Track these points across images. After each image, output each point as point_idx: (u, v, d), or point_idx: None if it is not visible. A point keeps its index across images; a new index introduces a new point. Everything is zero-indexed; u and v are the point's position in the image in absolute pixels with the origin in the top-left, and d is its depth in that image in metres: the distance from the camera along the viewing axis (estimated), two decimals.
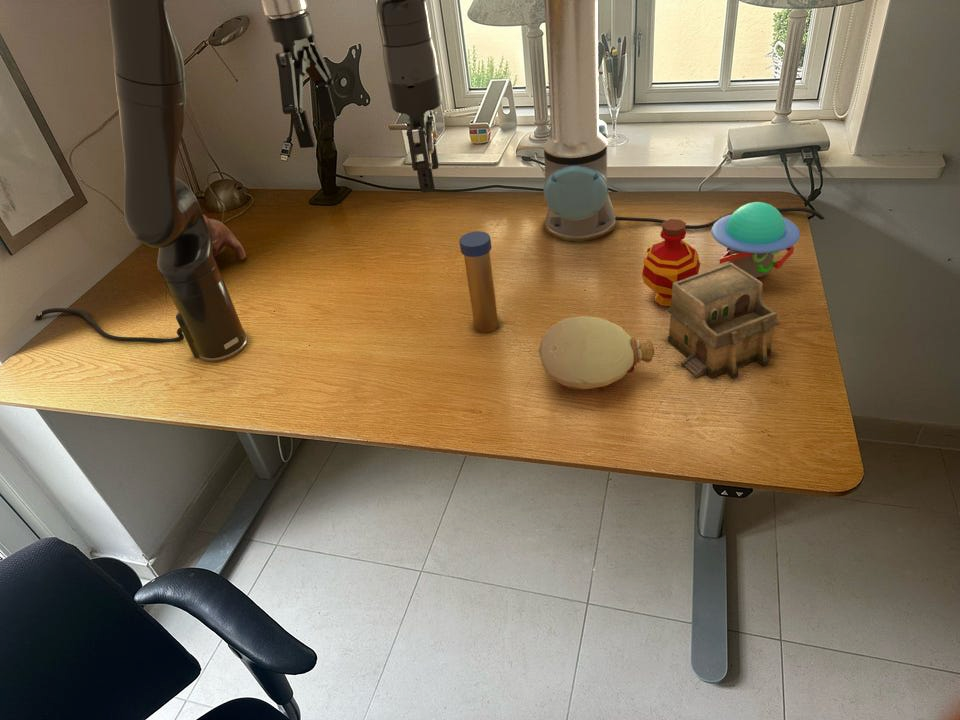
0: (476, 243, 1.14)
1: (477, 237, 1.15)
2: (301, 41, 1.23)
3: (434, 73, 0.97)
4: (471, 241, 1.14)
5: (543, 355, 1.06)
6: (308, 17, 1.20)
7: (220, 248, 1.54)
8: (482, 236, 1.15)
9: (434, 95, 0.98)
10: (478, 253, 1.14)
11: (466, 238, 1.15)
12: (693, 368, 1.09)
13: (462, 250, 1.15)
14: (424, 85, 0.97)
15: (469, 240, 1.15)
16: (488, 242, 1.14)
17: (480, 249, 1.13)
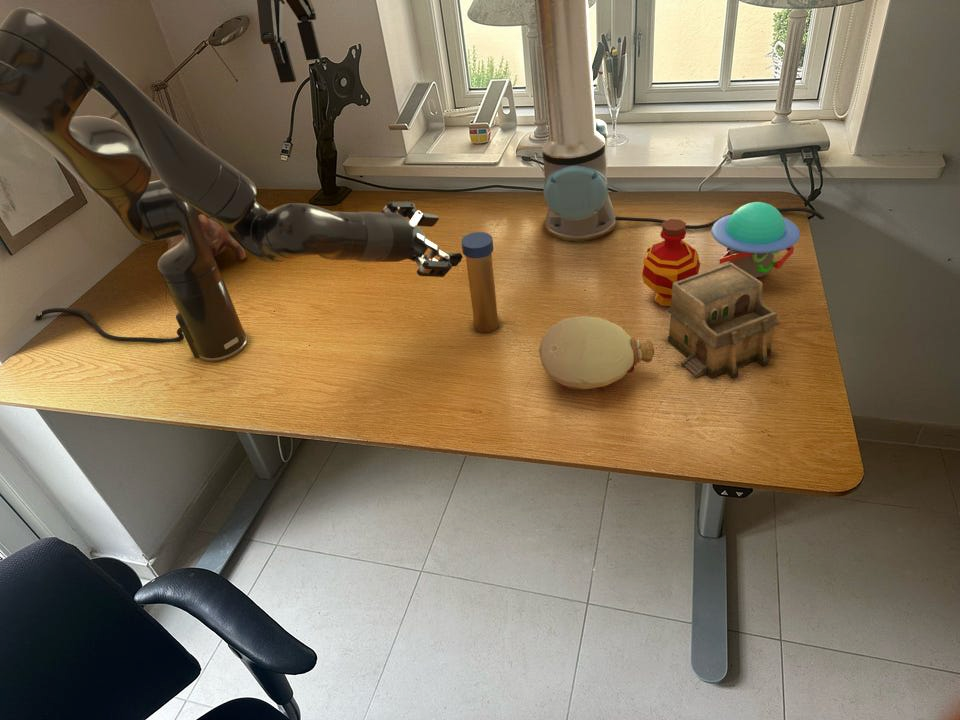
0: (478, 244, 1.13)
1: (479, 238, 1.15)
2: None
3: None
4: (473, 242, 1.14)
5: (543, 355, 1.06)
6: None
7: (220, 248, 1.54)
8: (484, 238, 1.15)
9: None
10: (481, 254, 1.13)
11: (468, 239, 1.15)
12: (693, 368, 1.09)
13: (464, 251, 1.14)
14: None
15: (471, 241, 1.14)
16: (490, 243, 1.14)
17: (482, 251, 1.13)
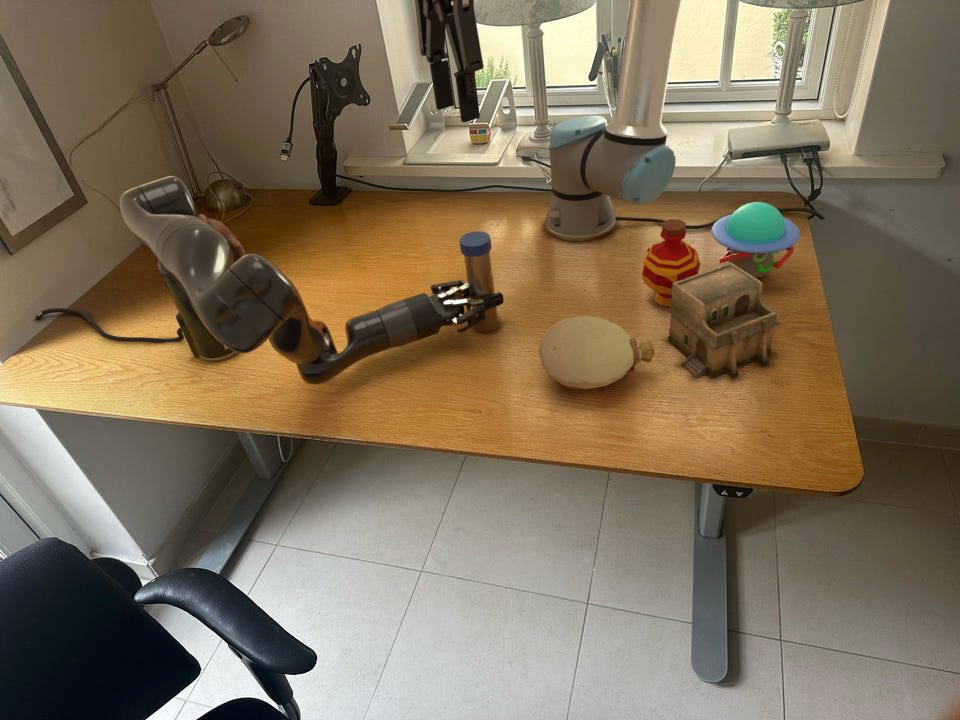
0: (476, 243, 1.14)
1: (477, 237, 1.15)
2: None
3: (406, 310, 1.15)
4: (471, 241, 1.14)
5: (543, 355, 1.06)
6: None
7: None
8: (482, 236, 1.15)
9: (423, 309, 1.16)
10: (479, 253, 1.14)
11: (466, 238, 1.15)
12: (693, 368, 1.09)
13: (462, 250, 1.15)
14: (416, 319, 1.15)
15: (469, 240, 1.15)
16: (488, 242, 1.14)
17: (480, 249, 1.13)
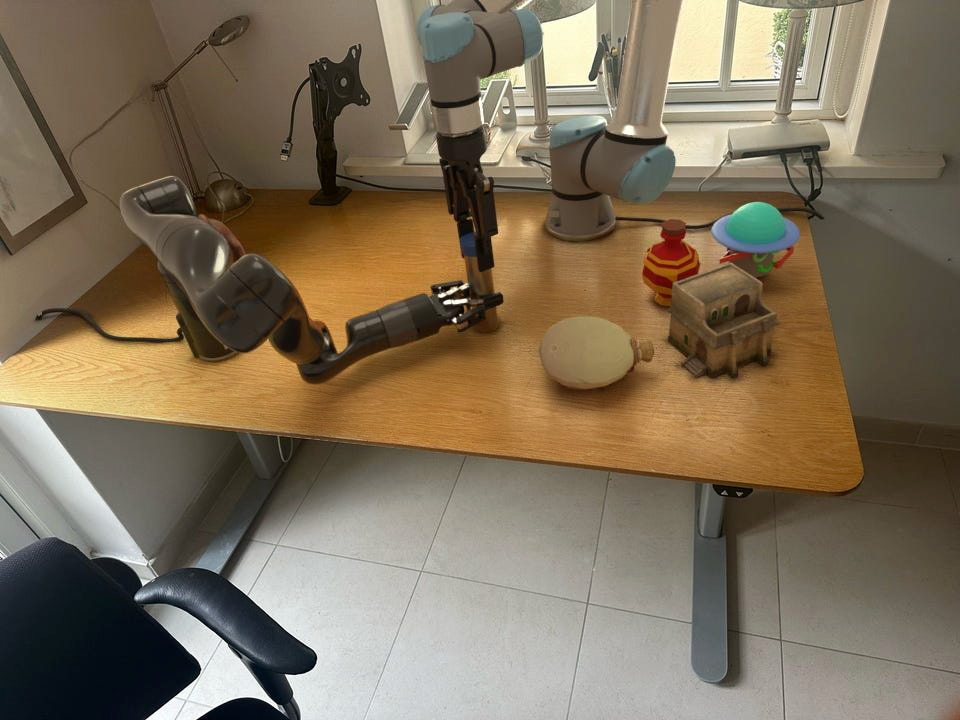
0: None
1: None
2: (459, 161, 1.06)
3: (406, 310, 1.15)
4: (471, 241, 1.14)
5: (543, 355, 1.06)
6: (438, 141, 1.03)
7: None
8: None
9: (423, 309, 1.16)
10: None
11: (466, 238, 1.15)
12: (693, 368, 1.09)
13: (462, 250, 1.15)
14: (416, 319, 1.15)
15: (469, 240, 1.15)
16: None
17: None
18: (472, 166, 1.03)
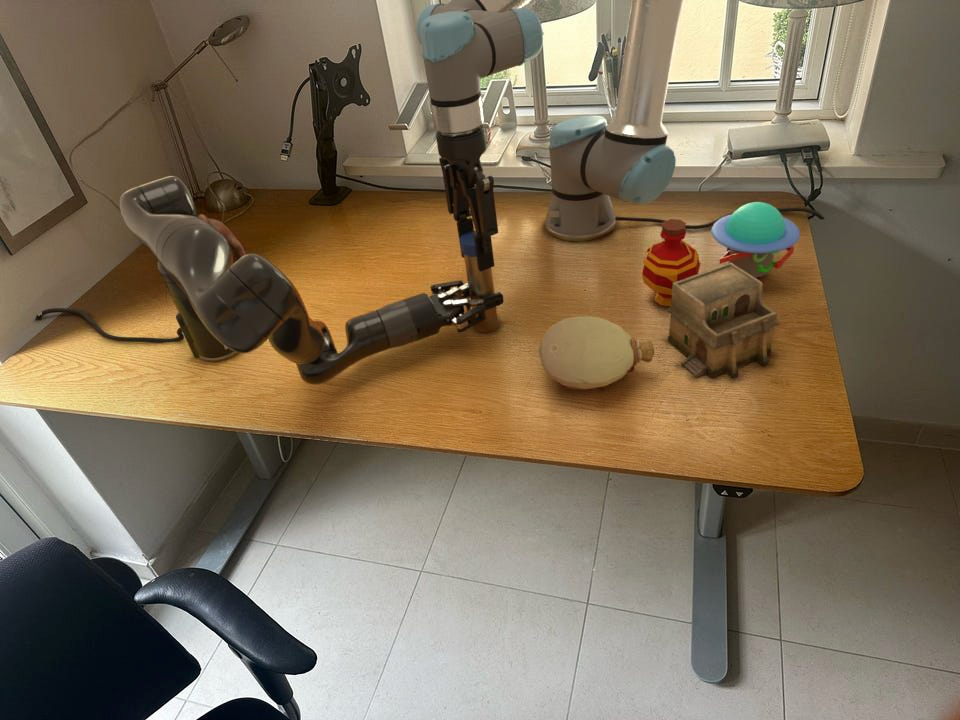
0: None
1: (471, 238, 1.15)
2: (459, 160, 1.06)
3: (406, 310, 1.15)
4: None
5: (543, 355, 1.06)
6: (438, 140, 1.03)
7: None
8: (468, 236, 1.16)
9: (423, 309, 1.16)
10: None
11: None
12: (693, 368, 1.09)
13: None
14: (416, 319, 1.15)
15: None
16: None
17: None
18: (472, 165, 1.03)
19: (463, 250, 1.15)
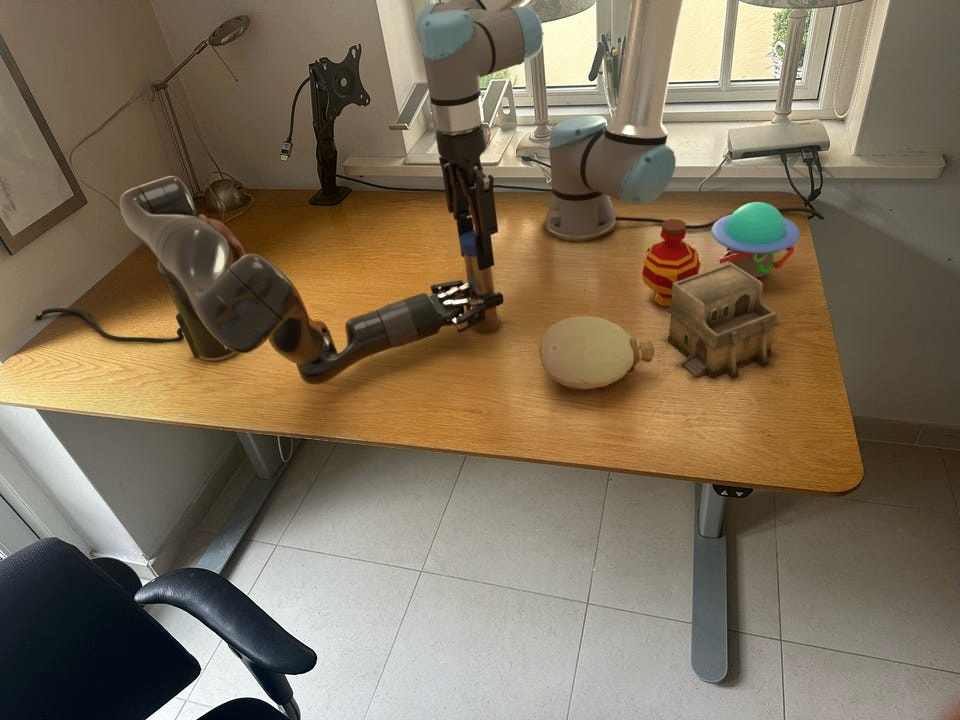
0: (464, 237, 1.15)
1: None
2: (458, 159, 1.05)
3: (406, 310, 1.15)
4: (470, 235, 1.15)
5: (543, 355, 1.06)
6: (438, 139, 1.03)
7: None
8: None
9: (423, 309, 1.16)
10: None
11: None
12: (693, 368, 1.09)
13: None
14: (416, 319, 1.15)
15: None
16: (464, 245, 1.14)
17: None
18: (472, 164, 1.03)
19: None
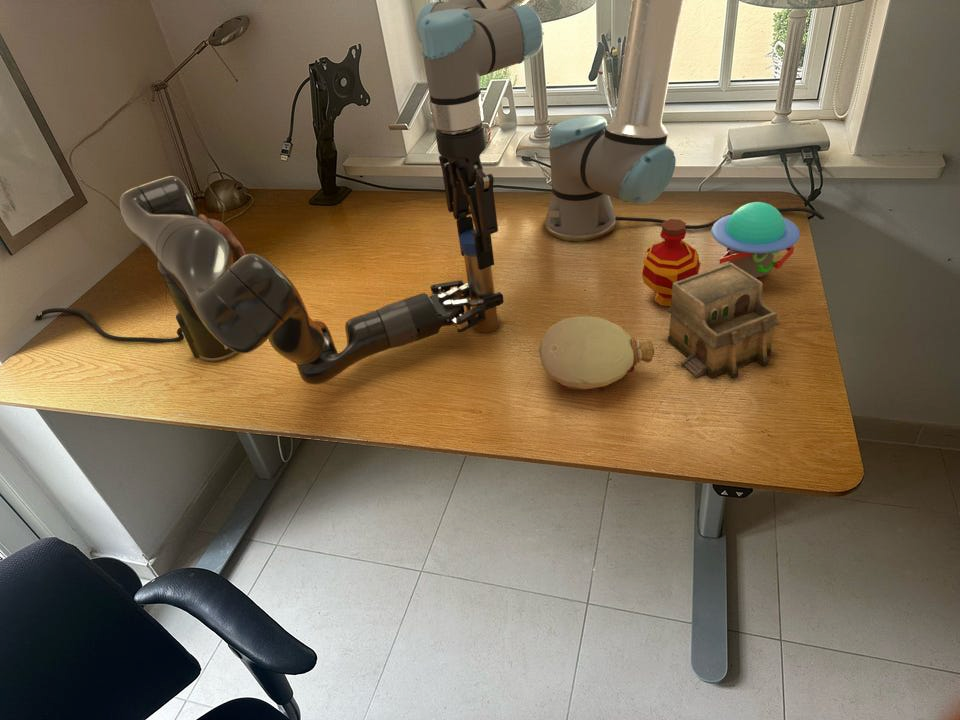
0: None
1: None
2: (458, 158, 1.05)
3: (406, 310, 1.15)
4: (473, 239, 1.14)
5: (543, 355, 1.06)
6: (438, 138, 1.03)
7: None
8: None
9: (423, 309, 1.16)
10: None
11: (465, 237, 1.15)
12: (693, 368, 1.09)
13: (466, 249, 1.14)
14: (416, 319, 1.15)
15: (470, 239, 1.14)
16: None
17: None
18: (472, 163, 1.03)
19: None
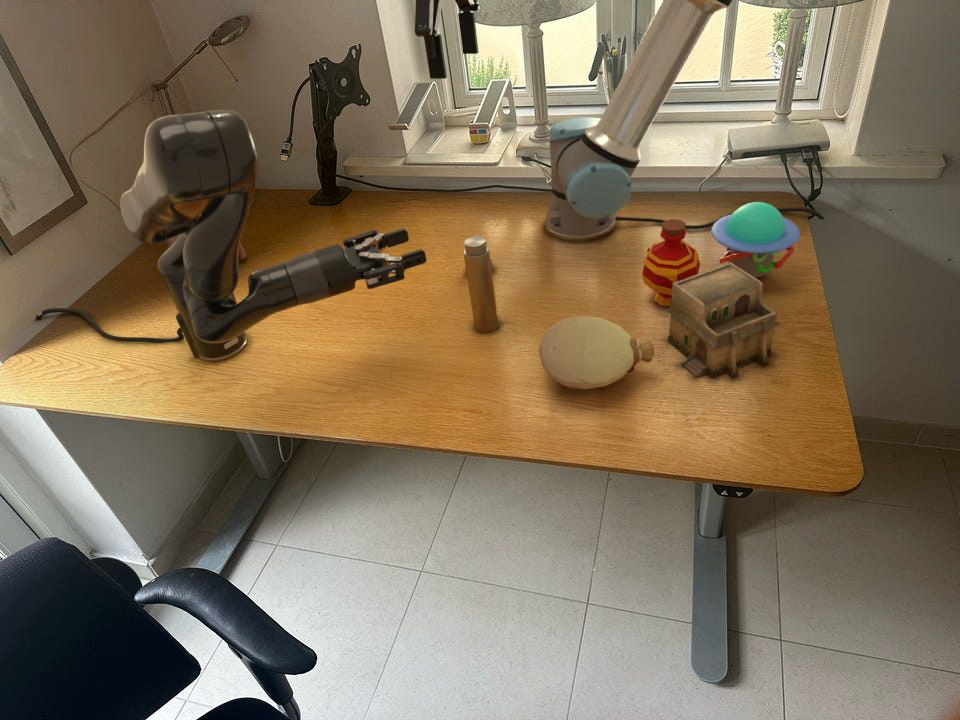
0: None
1: None
2: None
3: (314, 261, 1.04)
4: None
5: (543, 355, 1.06)
6: None
7: None
8: None
9: (334, 260, 1.04)
10: None
11: None
12: (693, 368, 1.09)
13: (492, 266, 1.41)
14: (326, 271, 1.03)
15: None
16: None
17: None
18: None
19: None
